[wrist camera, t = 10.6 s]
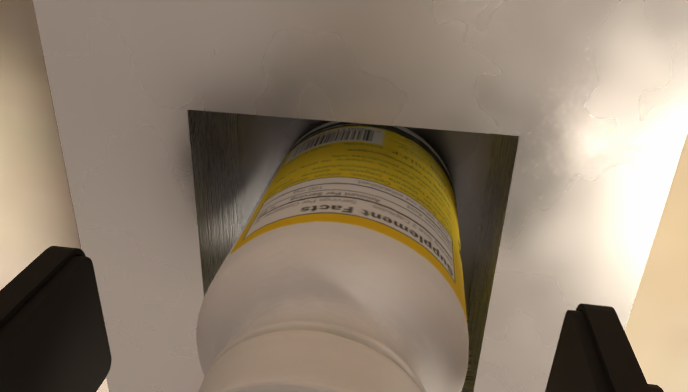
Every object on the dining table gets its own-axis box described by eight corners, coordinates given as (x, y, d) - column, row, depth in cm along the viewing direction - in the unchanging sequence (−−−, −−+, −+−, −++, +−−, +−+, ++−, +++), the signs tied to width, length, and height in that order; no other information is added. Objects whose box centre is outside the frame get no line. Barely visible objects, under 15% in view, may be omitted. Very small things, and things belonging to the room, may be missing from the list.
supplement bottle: (387, 301, 19) (345, 631, 10) (247, 211, 18) (75, 485, 10) (496, 181, 17) (561, 479, 8) (340, 73, 16) (223, 270, 7)
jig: (71, -193, 15) (-83, -237, 10) (735, -179, 13) (889, -225, 9) (156, 389, 24) (92, 499, 19) (559, 443, 22) (590, 578, 18)
